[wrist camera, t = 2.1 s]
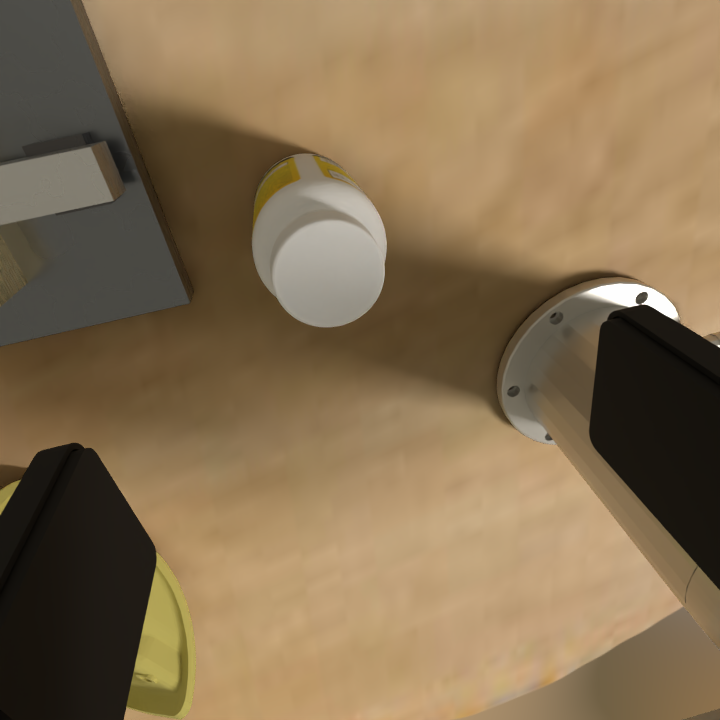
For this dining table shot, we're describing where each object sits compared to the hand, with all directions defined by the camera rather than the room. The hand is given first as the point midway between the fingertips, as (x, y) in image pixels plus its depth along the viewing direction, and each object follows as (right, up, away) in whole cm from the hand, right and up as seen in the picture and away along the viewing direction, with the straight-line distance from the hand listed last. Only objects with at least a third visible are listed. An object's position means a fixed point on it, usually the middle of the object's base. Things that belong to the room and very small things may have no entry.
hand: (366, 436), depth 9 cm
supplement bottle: (-3, +9, +16) cm, 19 cm away
